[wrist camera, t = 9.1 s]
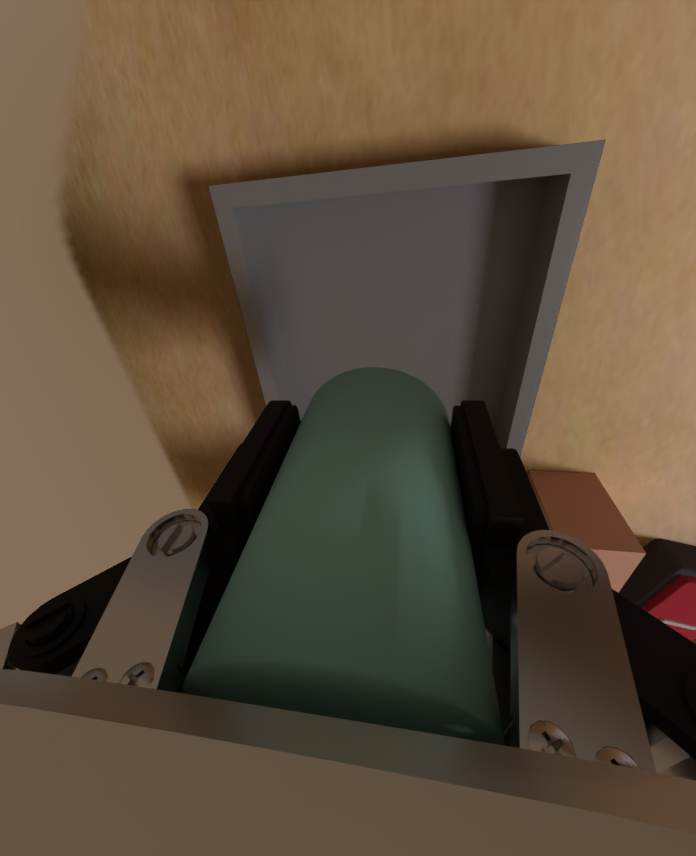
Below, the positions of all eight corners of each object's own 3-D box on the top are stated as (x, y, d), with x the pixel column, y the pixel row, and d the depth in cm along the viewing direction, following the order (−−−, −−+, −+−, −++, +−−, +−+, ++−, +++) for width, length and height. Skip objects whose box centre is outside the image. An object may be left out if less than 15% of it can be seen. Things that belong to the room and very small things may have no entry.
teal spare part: (457, 365, 9) (545, 697, 3) (443, 486, 11) (479, 789, 6) (293, 368, 9) (125, 640, 4) (316, 481, 12) (234, 745, 6)
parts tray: (570, 148, 13) (605, 139, 11) (505, 434, 21) (517, 466, 19) (239, 185, 16) (208, 185, 13) (293, 430, 24) (279, 458, 21)
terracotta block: (594, 472, 22) (646, 553, 17) (575, 513, 24) (616, 595, 19) (528, 470, 23) (560, 546, 18) (516, 510, 25) (541, 588, 20)
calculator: (861, 617, 21) (689, 703, 30) (795, 559, 25) (658, 650, 33) (687, 578, 22) (566, 674, 30) (647, 526, 25) (548, 625, 34)
